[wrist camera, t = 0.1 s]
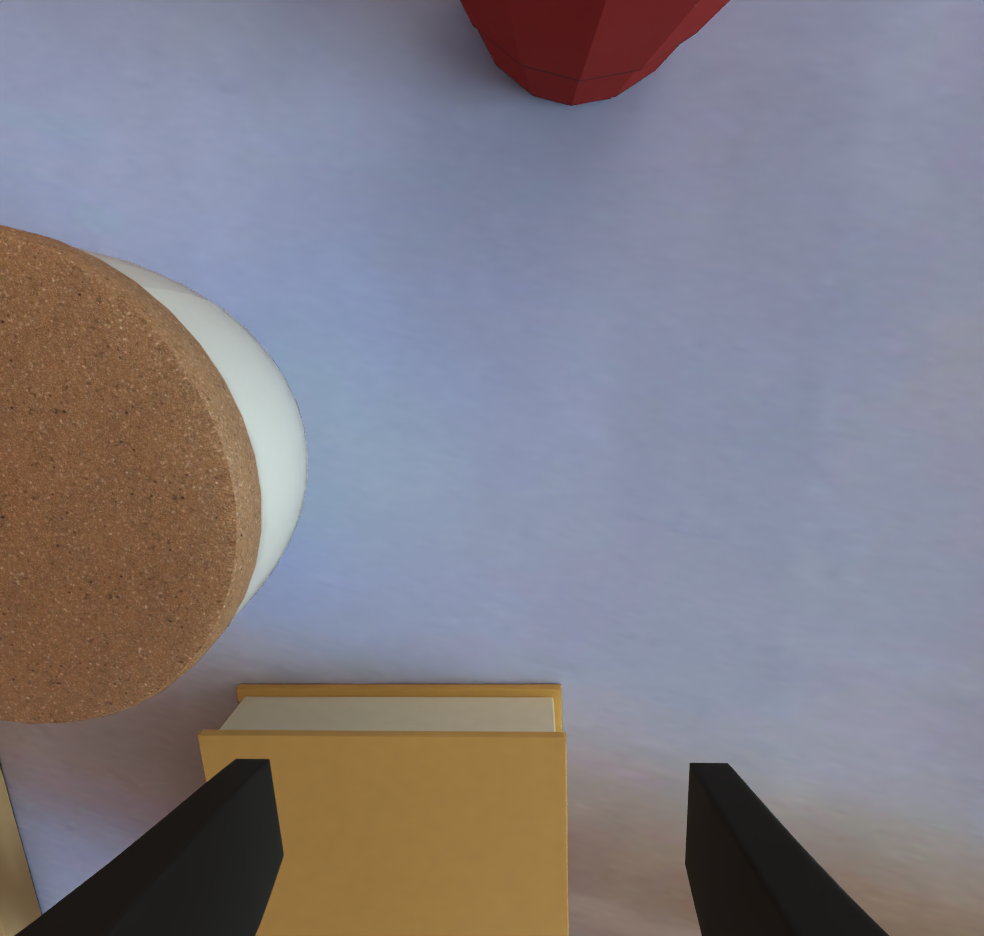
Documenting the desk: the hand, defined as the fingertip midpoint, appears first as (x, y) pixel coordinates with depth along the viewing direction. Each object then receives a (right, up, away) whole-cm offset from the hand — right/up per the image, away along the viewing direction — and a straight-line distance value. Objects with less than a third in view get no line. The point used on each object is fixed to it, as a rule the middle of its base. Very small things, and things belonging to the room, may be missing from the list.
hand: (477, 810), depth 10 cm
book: (-3, -10, +13) cm, 17 cm away
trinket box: (-10, +7, +10) cm, 15 cm away
